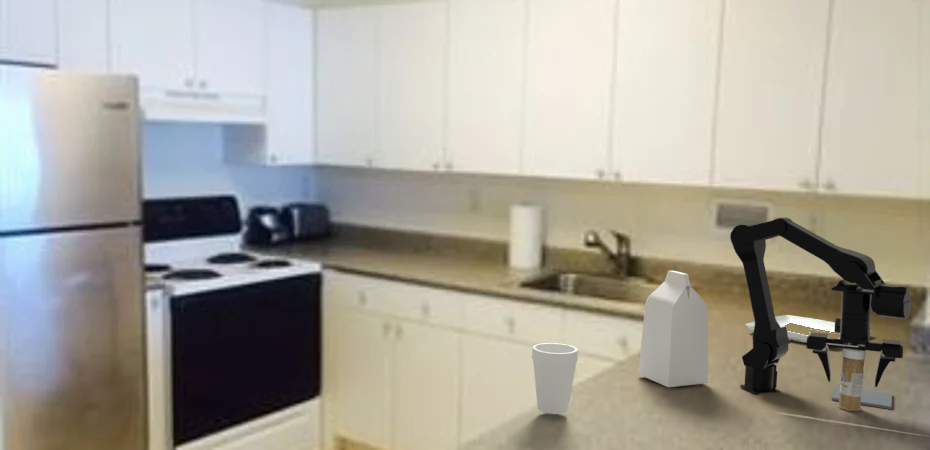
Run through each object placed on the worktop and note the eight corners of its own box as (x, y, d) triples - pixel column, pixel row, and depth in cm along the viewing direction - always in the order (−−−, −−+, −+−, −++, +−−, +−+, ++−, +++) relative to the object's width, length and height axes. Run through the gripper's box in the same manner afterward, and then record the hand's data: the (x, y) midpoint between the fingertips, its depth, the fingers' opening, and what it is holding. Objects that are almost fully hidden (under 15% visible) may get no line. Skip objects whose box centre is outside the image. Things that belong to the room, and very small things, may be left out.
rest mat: (891, 409, 180) (891, 406, 180) (831, 400, 186) (831, 397, 186) (891, 395, 191) (892, 393, 191) (835, 387, 197) (835, 384, 197)
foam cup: (584, 412, 172) (587, 350, 171) (549, 418, 167) (552, 355, 166) (555, 399, 180) (557, 341, 179) (521, 405, 175) (523, 345, 174)
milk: (637, 373, 204) (643, 269, 201) (676, 370, 208) (681, 268, 206) (668, 387, 193) (674, 277, 190) (707, 383, 197) (713, 275, 195)
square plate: (831, 353, 233) (832, 339, 232) (742, 335, 253) (743, 322, 253) (872, 340, 251) (873, 328, 250) (786, 324, 271) (787, 312, 271)
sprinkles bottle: (833, 405, 182) (838, 345, 181) (853, 405, 183) (858, 345, 181) (845, 412, 178) (850, 351, 176) (865, 412, 178) (870, 351, 177)
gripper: (904, 311, 181) (900, 381, 182) (812, 303, 190) (809, 370, 191) (904, 319, 171) (901, 393, 172) (807, 311, 180) (804, 381, 181)
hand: (852, 384), depth 179 cm, fingers open, 9 cm apart
